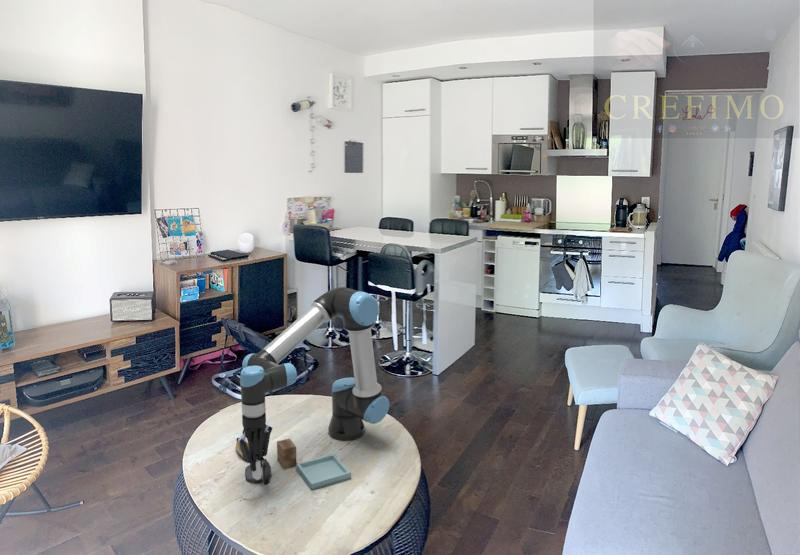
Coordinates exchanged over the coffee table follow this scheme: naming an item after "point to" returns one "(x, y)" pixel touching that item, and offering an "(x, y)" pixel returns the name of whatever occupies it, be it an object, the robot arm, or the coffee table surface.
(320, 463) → the tray
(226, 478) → the coffee table surface
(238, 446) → the sweet potato
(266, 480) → the crank
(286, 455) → the stop block
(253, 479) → the crank base
